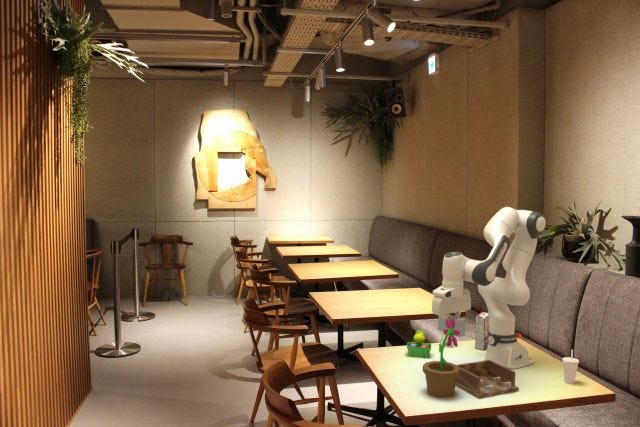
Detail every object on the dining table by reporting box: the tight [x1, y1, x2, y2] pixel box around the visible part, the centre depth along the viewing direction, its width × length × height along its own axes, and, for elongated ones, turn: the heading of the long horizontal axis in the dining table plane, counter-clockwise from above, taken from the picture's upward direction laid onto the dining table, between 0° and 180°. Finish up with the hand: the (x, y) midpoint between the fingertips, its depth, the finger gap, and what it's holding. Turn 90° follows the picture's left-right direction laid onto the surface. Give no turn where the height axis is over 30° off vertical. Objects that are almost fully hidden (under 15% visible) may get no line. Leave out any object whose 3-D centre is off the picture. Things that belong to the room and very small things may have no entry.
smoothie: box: [561, 349, 580, 385], centre depth 230 cm, size 6×6×14 cm
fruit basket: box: [406, 329, 433, 359], centre depth 263 cm, size 11×9×11 cm
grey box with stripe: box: [437, 314, 466, 338], centre depth 235 cm, size 12×4×7 cm, turn 33°
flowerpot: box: [422, 318, 460, 398], centre depth 217 cm, size 14×14×30 cm
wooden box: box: [455, 360, 520, 400], centre depth 224 cm, size 20×17×8 cm
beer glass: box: [439, 331, 454, 349], centre depth 278 cm, size 7×7×15 cm
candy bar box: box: [474, 311, 489, 351], centre depth 277 cm, size 11×5×16 cm, turn 148°
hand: (451, 322), depth 235 cm, fingers closed on grey box with stripe, 4 cm apart
